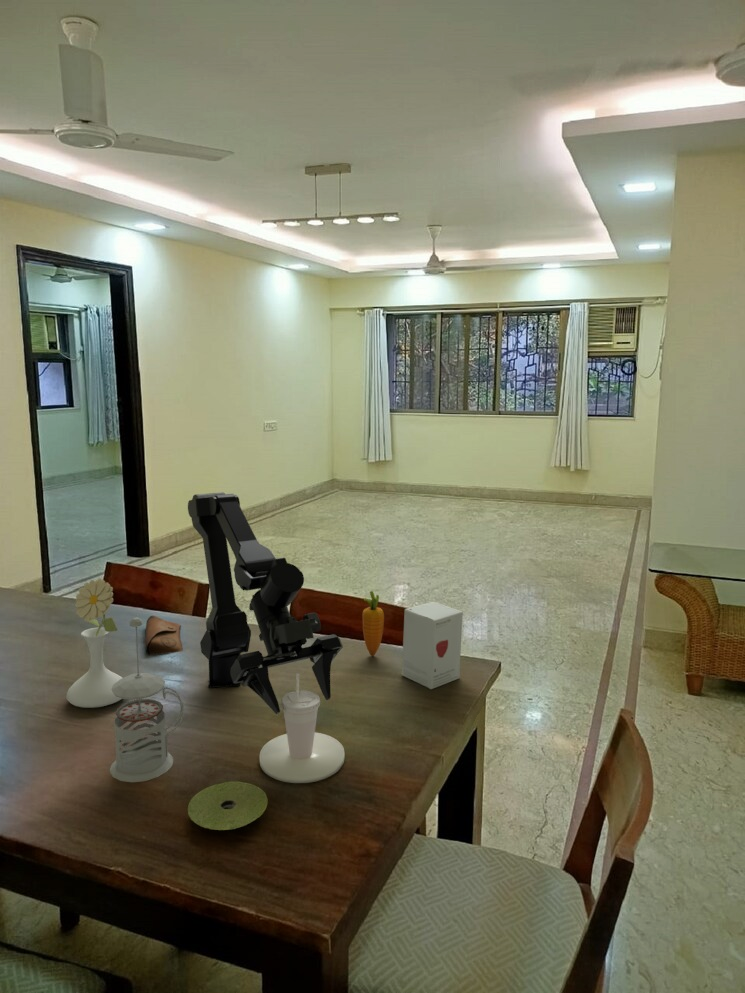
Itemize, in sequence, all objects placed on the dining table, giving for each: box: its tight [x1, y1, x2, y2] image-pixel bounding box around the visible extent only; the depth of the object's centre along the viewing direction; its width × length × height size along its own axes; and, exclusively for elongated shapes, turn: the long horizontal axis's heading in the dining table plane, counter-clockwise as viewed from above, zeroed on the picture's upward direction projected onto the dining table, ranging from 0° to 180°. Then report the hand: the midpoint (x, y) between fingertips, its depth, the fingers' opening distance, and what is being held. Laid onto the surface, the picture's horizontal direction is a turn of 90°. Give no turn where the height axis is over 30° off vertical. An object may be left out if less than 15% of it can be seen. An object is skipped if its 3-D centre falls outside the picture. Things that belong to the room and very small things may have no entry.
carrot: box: [361, 590, 385, 657], centre depth 155 cm, size 5×5×15 cm
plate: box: [259, 731, 346, 784], centre depth 114 cm, size 14×14×1 cm
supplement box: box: [401, 601, 464, 690], centre depth 145 cm, size 9×9×15 cm
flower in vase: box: [65, 578, 123, 709], centre depth 131 cm, size 13×11×25 cm
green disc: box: [187, 781, 268, 831], centre depth 99 cm, size 11×11×2 cm
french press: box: [109, 616, 185, 783], centre depth 110 cm, size 10×12×25 cm
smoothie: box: [280, 672, 321, 759], centre depth 113 cm, size 6×6×14 cm
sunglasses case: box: [145, 615, 184, 656], centre depth 164 cm, size 18×7×7 cm, turn 18°
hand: (304, 706), depth 112 cm, fingers open, 9 cm apart
